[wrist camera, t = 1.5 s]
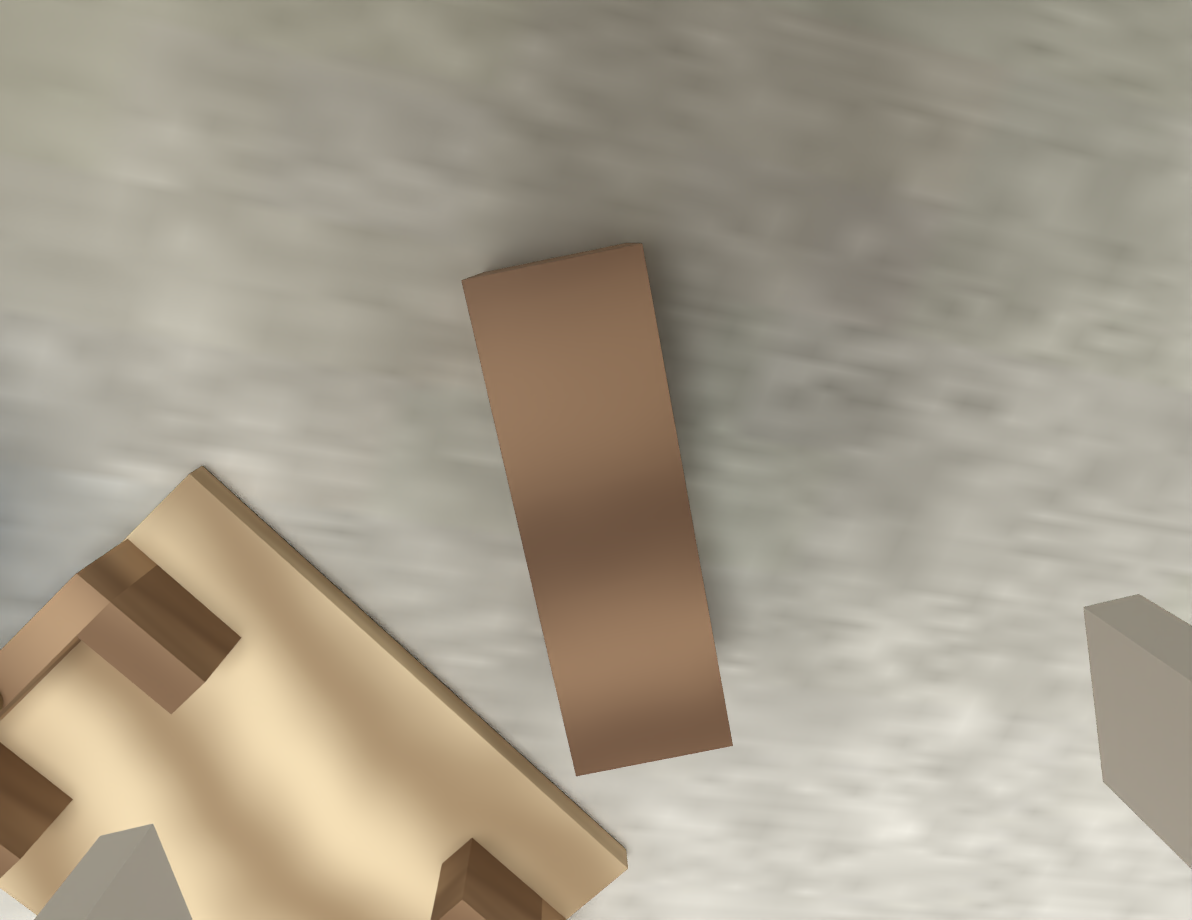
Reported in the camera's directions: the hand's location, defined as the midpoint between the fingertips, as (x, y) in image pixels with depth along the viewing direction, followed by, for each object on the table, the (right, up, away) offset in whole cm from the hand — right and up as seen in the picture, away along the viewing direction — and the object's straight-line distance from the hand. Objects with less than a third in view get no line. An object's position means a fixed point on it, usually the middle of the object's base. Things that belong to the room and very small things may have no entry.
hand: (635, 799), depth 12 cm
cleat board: (-12, -8, +19) cm, 24 cm away
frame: (0, +4, +17) cm, 17 cm away
